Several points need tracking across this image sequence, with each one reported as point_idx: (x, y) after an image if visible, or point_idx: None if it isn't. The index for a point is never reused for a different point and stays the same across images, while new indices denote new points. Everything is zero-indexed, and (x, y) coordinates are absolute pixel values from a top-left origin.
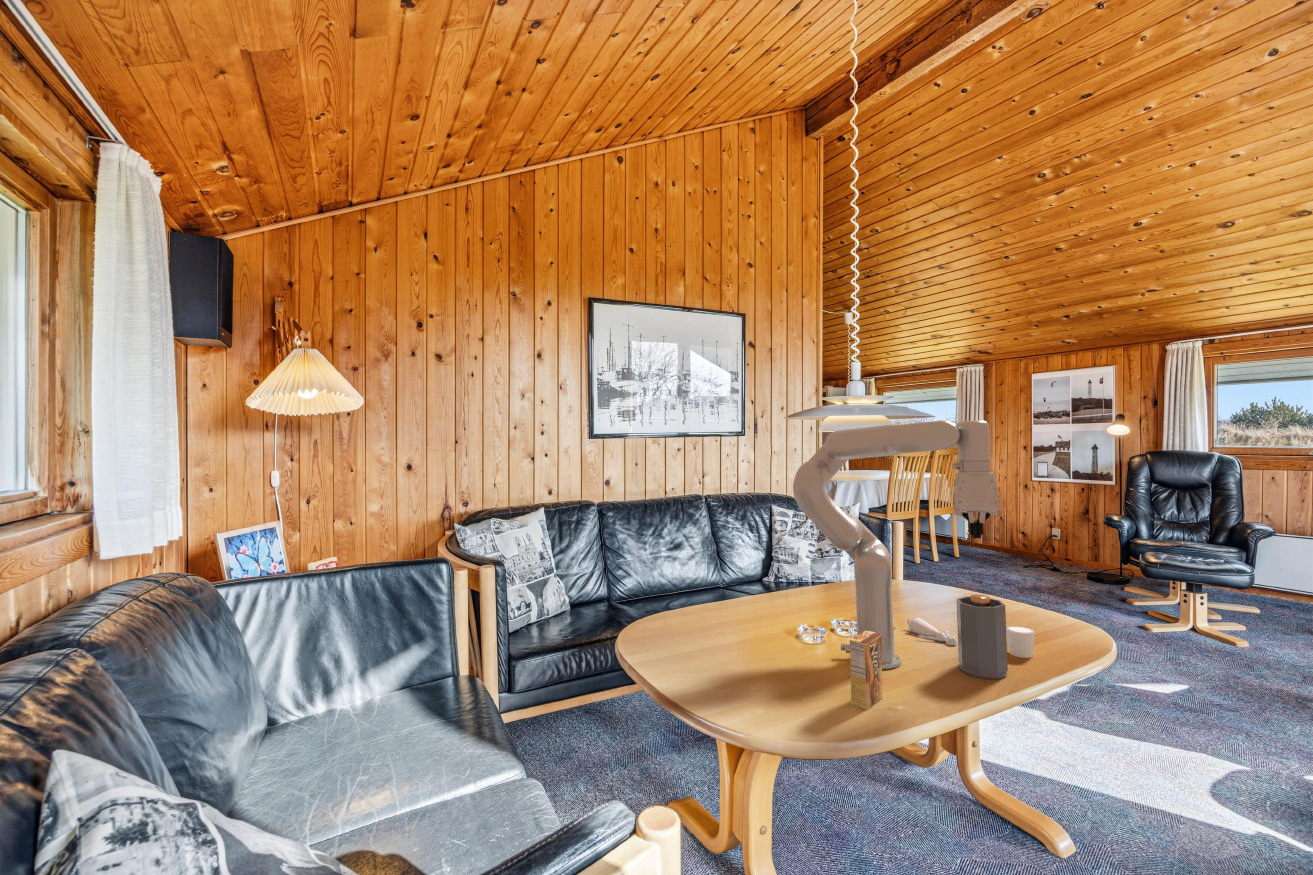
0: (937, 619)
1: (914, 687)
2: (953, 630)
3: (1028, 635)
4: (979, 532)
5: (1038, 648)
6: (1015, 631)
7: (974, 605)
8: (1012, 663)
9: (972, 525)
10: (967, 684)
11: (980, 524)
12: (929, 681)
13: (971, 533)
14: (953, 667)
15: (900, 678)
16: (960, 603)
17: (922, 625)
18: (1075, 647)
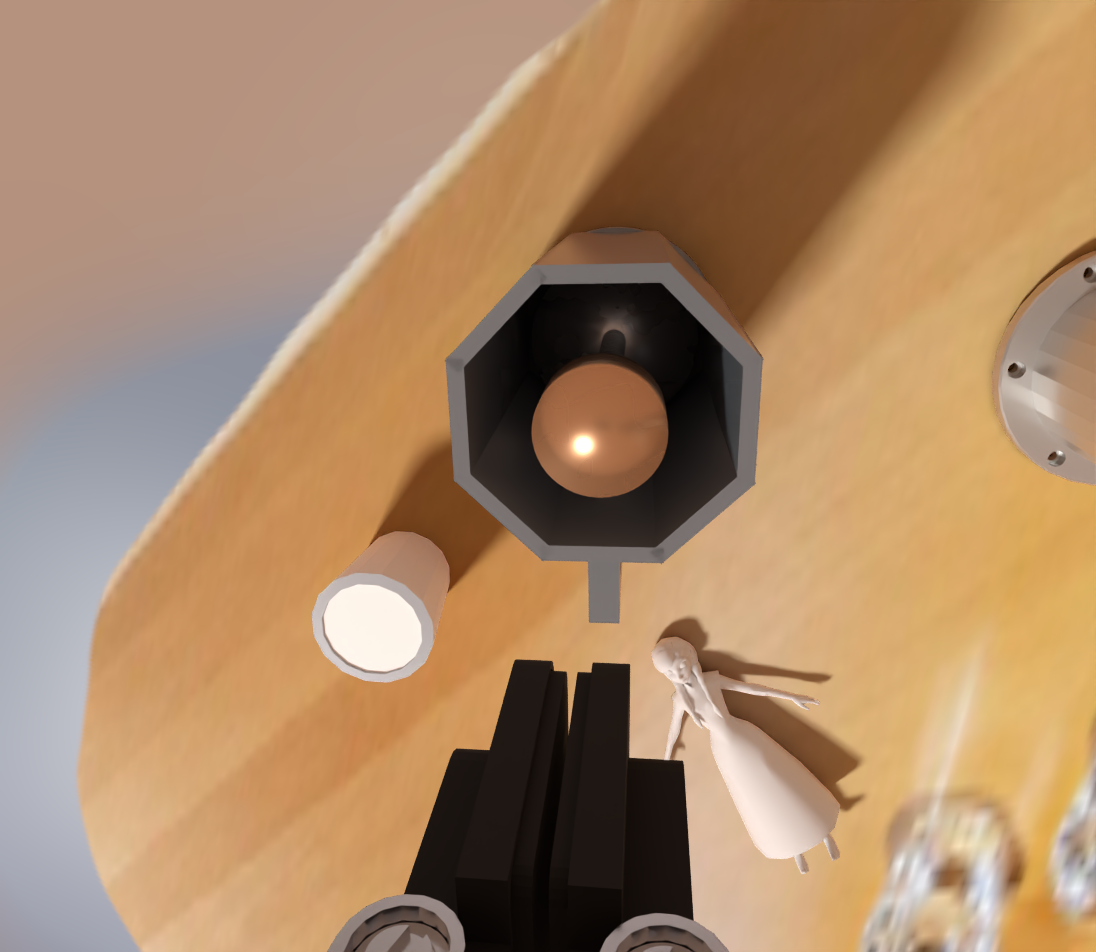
0: None
1: (1018, 13)
2: None
3: (349, 571)
4: (525, 720)
5: None
6: (399, 593)
7: (652, 376)
8: None
9: (641, 894)
10: (731, 128)
11: (467, 848)
12: (912, 124)
13: (665, 763)
14: None
15: (1058, 132)
16: (760, 355)
17: (784, 785)
18: (185, 680)
